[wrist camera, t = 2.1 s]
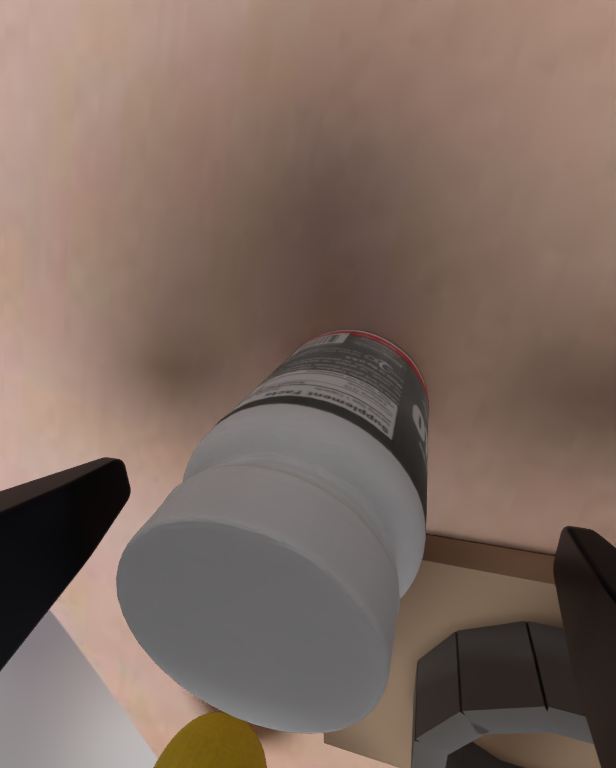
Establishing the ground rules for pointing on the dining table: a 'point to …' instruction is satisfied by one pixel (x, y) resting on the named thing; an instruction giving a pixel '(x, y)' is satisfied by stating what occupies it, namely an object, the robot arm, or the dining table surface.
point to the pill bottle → (291, 541)
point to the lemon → (214, 745)
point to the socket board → (460, 604)
